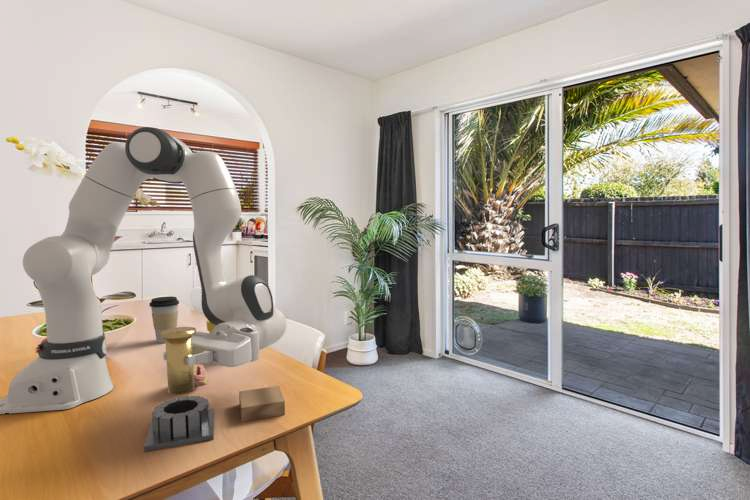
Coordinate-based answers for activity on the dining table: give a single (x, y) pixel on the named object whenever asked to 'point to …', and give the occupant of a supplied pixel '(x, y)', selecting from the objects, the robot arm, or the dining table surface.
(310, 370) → the dining table surface
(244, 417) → the stand
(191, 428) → the hub
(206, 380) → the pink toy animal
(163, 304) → the coffee cup
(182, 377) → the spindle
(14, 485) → the dining table surface
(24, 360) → the dining table surface
